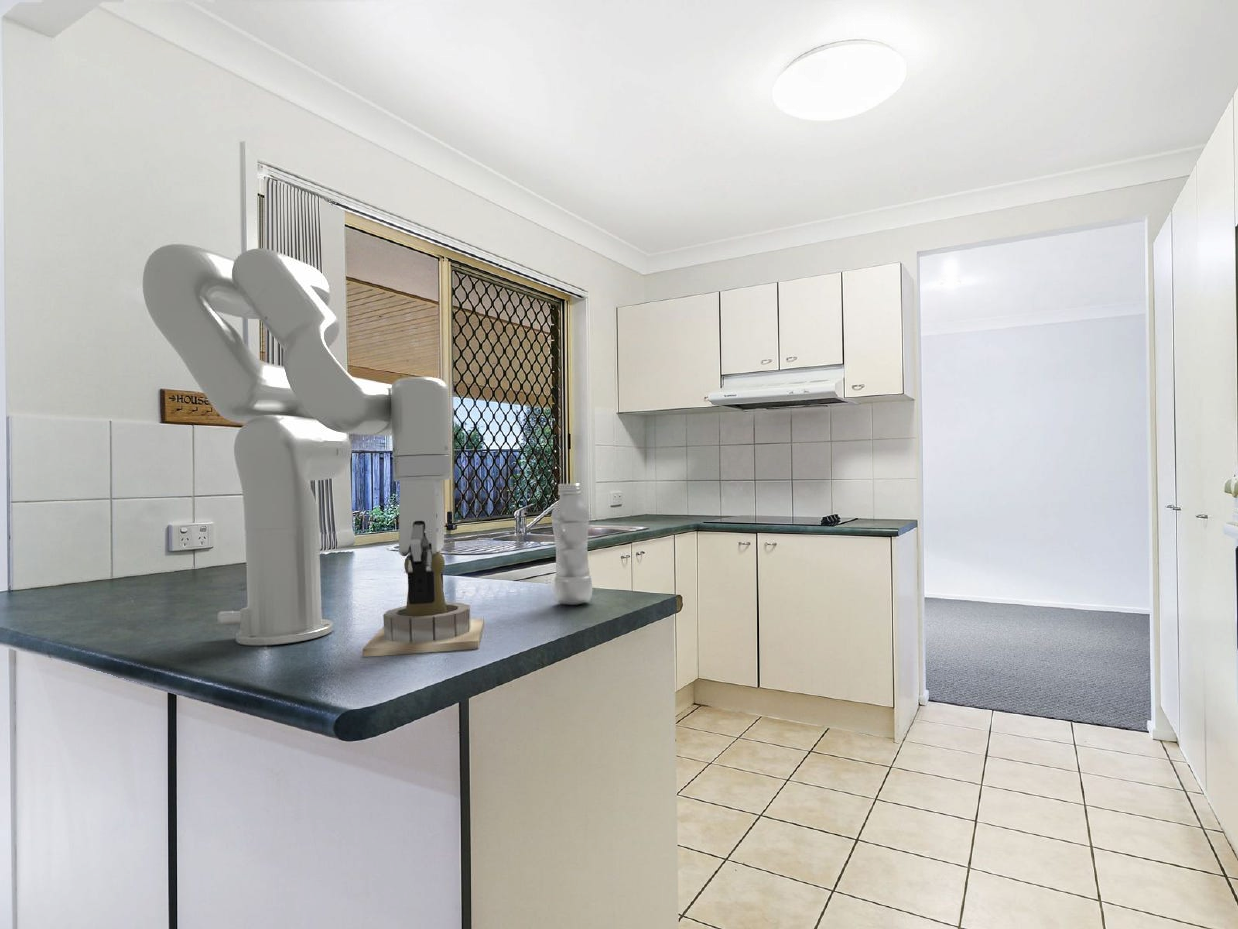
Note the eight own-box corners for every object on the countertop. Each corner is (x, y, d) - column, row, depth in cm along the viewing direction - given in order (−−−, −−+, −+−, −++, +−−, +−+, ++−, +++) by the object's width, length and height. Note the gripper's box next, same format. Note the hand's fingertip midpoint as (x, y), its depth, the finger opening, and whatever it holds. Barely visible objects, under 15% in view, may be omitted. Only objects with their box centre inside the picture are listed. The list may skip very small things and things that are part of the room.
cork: (441, 638, 90) (438, 553, 90) (396, 639, 90) (393, 554, 91) (456, 628, 96) (453, 548, 96) (413, 629, 96) (410, 549, 97)
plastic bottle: (598, 600, 118) (593, 482, 118) (585, 608, 111) (581, 483, 112) (562, 600, 120) (558, 484, 120) (548, 608, 113) (543, 485, 113)
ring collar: (362, 657, 86) (361, 624, 86) (384, 632, 100) (383, 604, 100) (478, 648, 88) (477, 616, 88) (484, 625, 102) (483, 598, 102)
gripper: (404, 471, 102) (408, 588, 102) (380, 470, 85) (385, 610, 85) (456, 469, 103) (461, 585, 103) (443, 467, 86) (449, 606, 86)
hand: (427, 596), depth 94 cm, fingers open, 9 cm apart
